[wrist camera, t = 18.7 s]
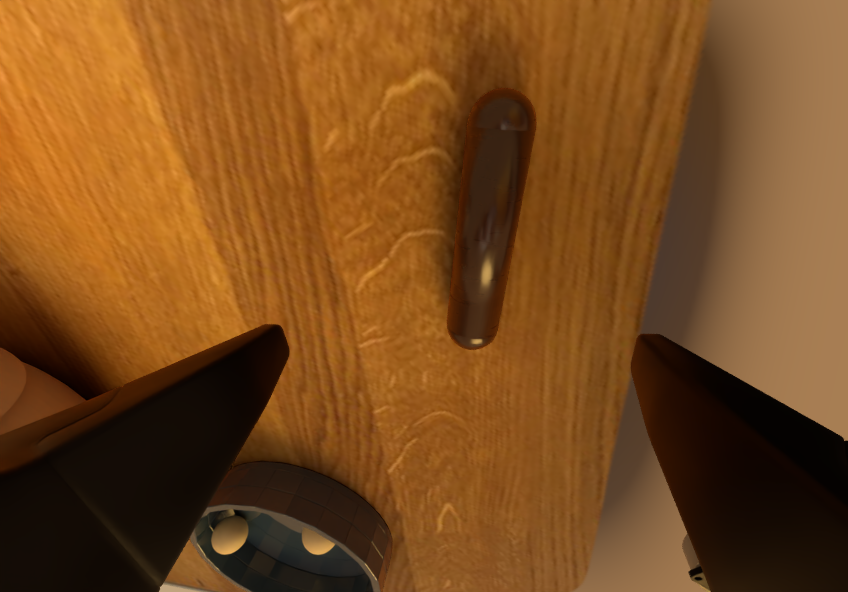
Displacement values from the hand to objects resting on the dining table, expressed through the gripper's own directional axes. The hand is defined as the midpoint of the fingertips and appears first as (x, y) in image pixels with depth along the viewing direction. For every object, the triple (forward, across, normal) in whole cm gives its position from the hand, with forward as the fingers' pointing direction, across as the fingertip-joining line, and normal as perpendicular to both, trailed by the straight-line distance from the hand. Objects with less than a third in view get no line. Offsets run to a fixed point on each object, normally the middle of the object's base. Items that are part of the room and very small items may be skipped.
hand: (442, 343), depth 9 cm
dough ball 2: (+7, +12, +23) cm, 27 cm away
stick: (+8, 0, 0) cm, 8 cm away
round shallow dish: (+8, +15, +26) cm, 31 cm away
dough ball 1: (+6, +20, +26) cm, 34 cm away
